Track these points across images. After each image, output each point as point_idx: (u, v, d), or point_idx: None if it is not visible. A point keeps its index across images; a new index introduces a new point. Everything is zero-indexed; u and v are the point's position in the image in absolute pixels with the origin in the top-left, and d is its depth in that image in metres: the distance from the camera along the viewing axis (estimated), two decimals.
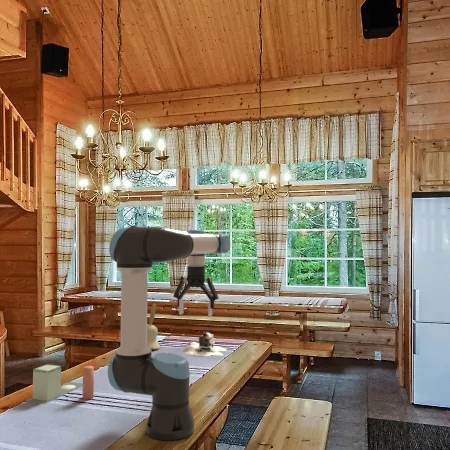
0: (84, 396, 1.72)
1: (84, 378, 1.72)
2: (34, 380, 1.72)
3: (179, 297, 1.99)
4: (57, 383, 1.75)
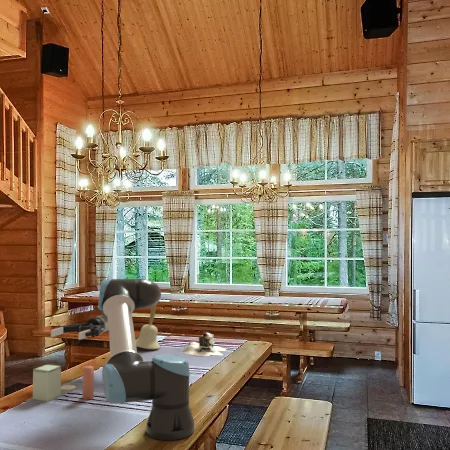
0: (84, 396, 1.72)
1: (84, 378, 1.72)
2: (34, 380, 1.72)
3: (63, 327, 1.94)
4: (57, 383, 1.75)
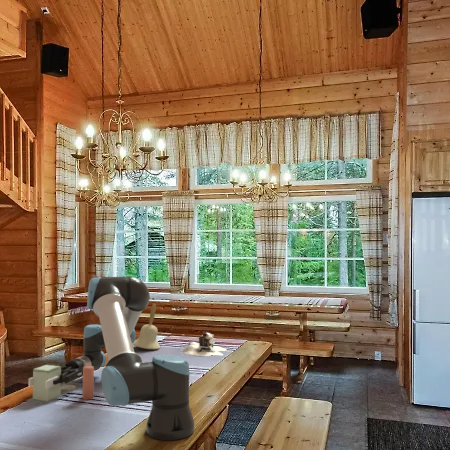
0: (84, 396, 1.72)
1: (84, 378, 1.72)
2: (34, 380, 1.72)
3: None
4: None
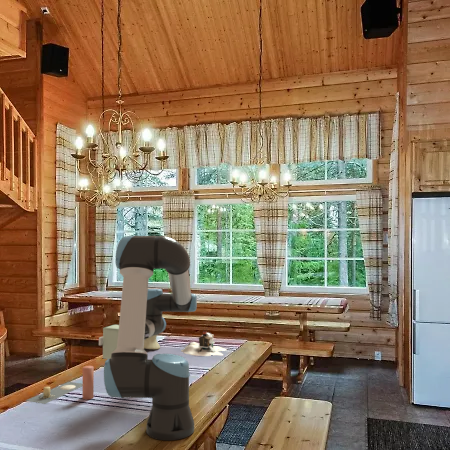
0: (84, 396, 1.72)
1: (84, 378, 1.72)
2: (104, 339, 1.66)
3: None
4: None
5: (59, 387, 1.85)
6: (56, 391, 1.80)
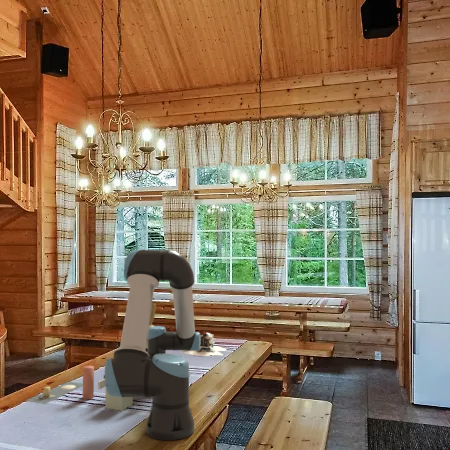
0: (84, 396, 1.72)
1: (84, 378, 1.73)
2: None
3: None
4: None
5: (59, 387, 1.85)
6: (56, 391, 1.80)
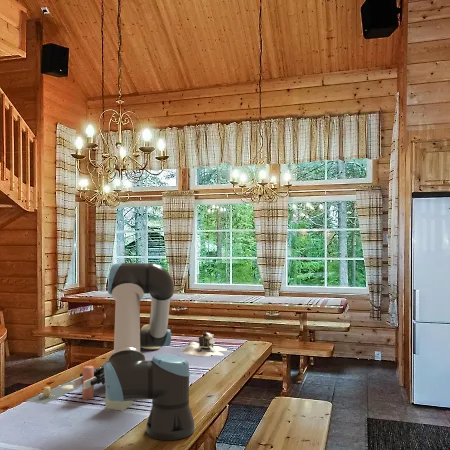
0: (83, 396, 1.72)
1: (84, 378, 1.72)
2: None
3: None
4: None
5: (59, 387, 1.85)
6: (56, 391, 1.80)
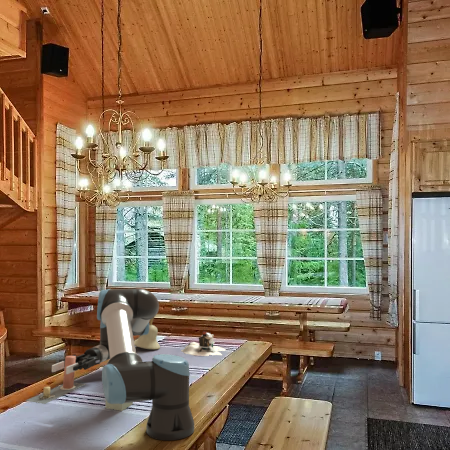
0: (64, 383, 1.84)
1: (66, 366, 1.85)
2: None
3: (64, 361, 1.90)
4: None
5: (59, 387, 1.85)
6: (56, 391, 1.80)
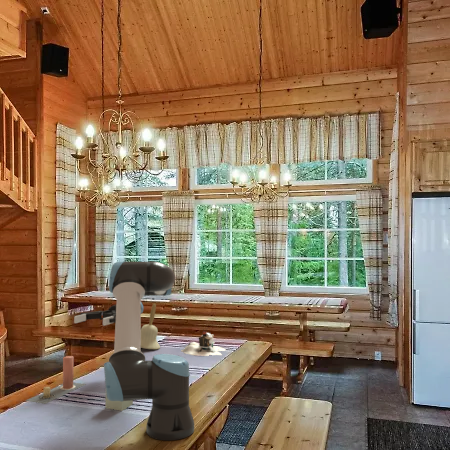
0: (64, 384, 1.84)
1: (64, 367, 1.84)
2: None
3: (85, 314, 1.92)
4: None
5: (59, 387, 1.85)
6: (56, 391, 1.80)
